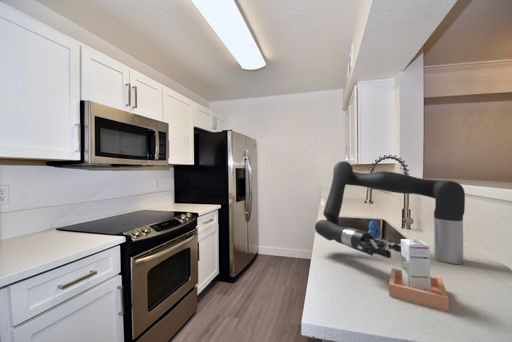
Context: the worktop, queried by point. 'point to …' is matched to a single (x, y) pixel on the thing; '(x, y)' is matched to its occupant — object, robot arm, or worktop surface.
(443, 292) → the dish
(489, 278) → the worktop surface
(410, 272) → the syrup box
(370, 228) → the grapes
